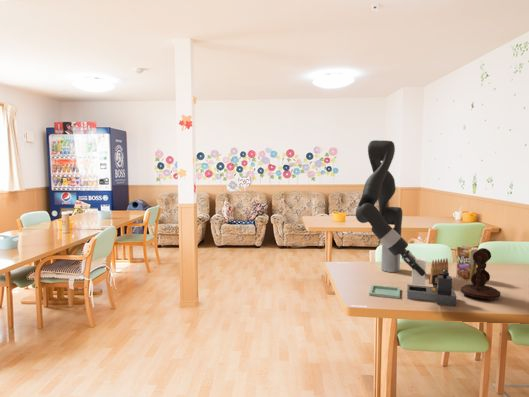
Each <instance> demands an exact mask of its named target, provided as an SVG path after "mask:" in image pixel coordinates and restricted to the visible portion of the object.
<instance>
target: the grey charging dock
mask: <svg viewBox="0 0 529 397" xmlns="http://www.w3.org/2000/svg"><path fill="white" fill-rule="evenodd" d="M406 286H407V287H406V288H407V290H406V293H407V294H406V296H407V297H406V298H407V300H415V301H425V302H433V303H436V305H439V306H447V307H448V306H449V307H457V297H458V296H457V294H456V291H455V289H454V288H452V287H453V278H452V276H450V275H449V276H447V270H446V269H443V276H441V275H438V280H437V286H427V285H415V284H407V285H406Z"/></svg>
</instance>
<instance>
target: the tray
mask: <svg viewBox="0 0 529 397" xmlns="http://www.w3.org/2000/svg"><path fill="white" fill-rule="evenodd" d="M368 294H369V295H368V296H371V297H380V298H390V299H398V300H399V299H401V298H400V297H401V296H400V295H401V287H397V286H387V285H377V284H371V285H370V288H369V293H368Z"/></svg>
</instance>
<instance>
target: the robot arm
mask: <svg viewBox="0 0 529 397" xmlns="http://www.w3.org/2000/svg"><path fill="white" fill-rule="evenodd" d="M395 150H396V148H395V143H394V142H393V141H391V140H378V139H376V140H371V141H369V143H368V145H367V152H368V154H367V156H368V158H369V162H370V166H371V170H372V174H370V175H369V177H368V178H367V179H366V181H365V184H364V187H363V190H362V193H361V194H362V195H361V197H360V200H359V202H358V205H357V208H356V210H355V217H356V220H357V221H358V222H359V223H361V224H366V223H368V224H370V226H371V232H372V233H373V234H374V235H375V236H376V238H378V240H379V241H380V242H381V264H380V265H381V268H380V270H382V271H384V272H386V271H387V272H388V273H398V272H401V260H403V262H405V263H406V264H407V265H408V266H409V267H410V268H411V270H412V269H414V270H416V271H417V272H418V273H419V274H420V275H421V276H423V275H424V274H425V275H426V270H425V271H424V270H423V269H422V268H421V267H420V266H419V264H417V263H416V259H415V258H416V256H415V255H413V253H412V252H411V251H410V250H409V249H407V248H408V246H409V244H408V242H407V241H406V240H405V239H404V238H403V237H402V222H403V209H402V208H401V207H400V206H399V207H398V206H388V205H387V204H388V203H389V201H390V200H391V199H392V198H393V196H394V195H395V192H396V190H397V189H396V182H395V178H394V176H393V175H392V172H390V171H389V169H390V167H391V164H392V162H393V159H394V156H395V152H396V151H395ZM376 203H378V208H377V206H375V205H376ZM393 225H394V227H392V226H393ZM413 263H414V264H415V265H414V266H413V265H412V264H413Z"/></svg>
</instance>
